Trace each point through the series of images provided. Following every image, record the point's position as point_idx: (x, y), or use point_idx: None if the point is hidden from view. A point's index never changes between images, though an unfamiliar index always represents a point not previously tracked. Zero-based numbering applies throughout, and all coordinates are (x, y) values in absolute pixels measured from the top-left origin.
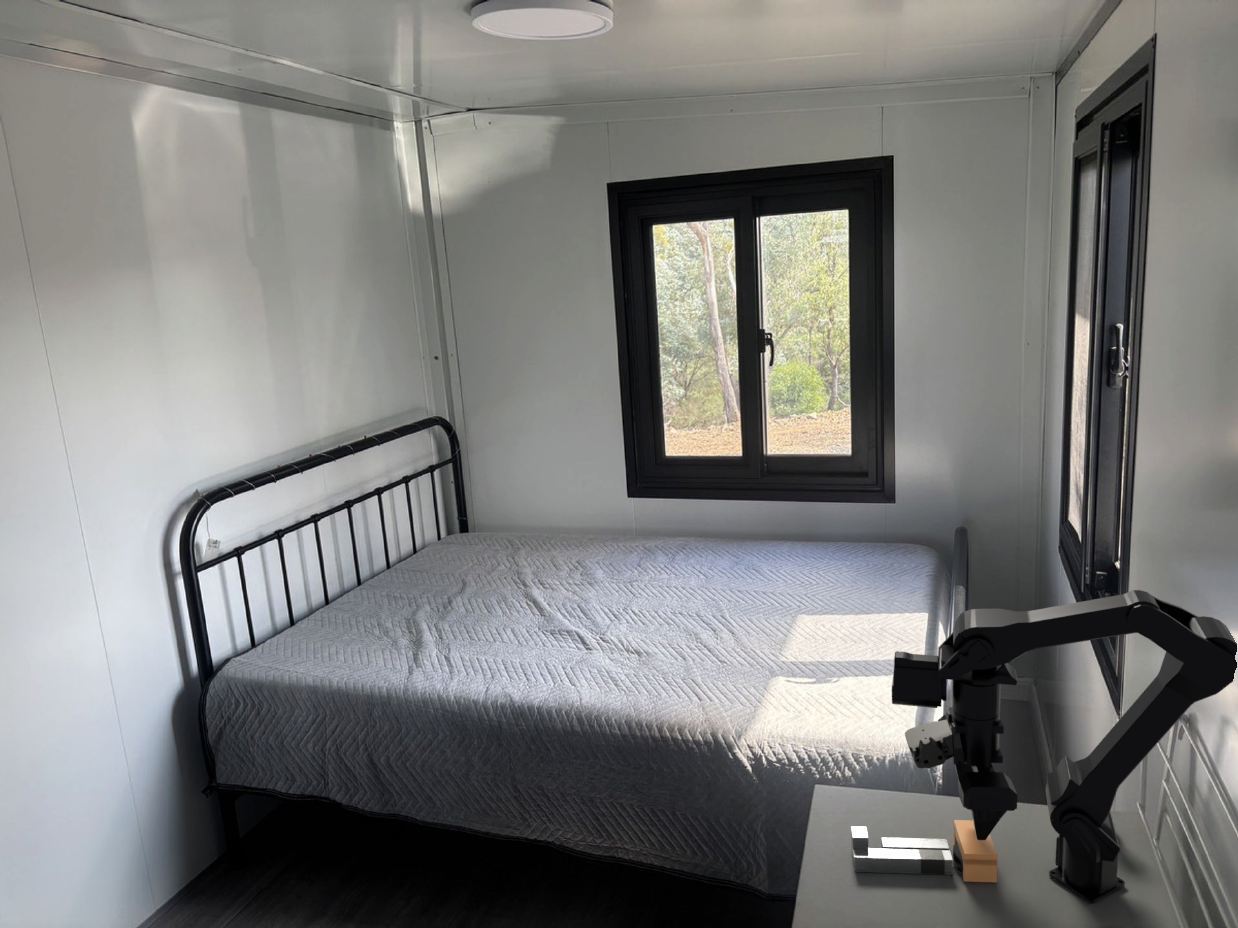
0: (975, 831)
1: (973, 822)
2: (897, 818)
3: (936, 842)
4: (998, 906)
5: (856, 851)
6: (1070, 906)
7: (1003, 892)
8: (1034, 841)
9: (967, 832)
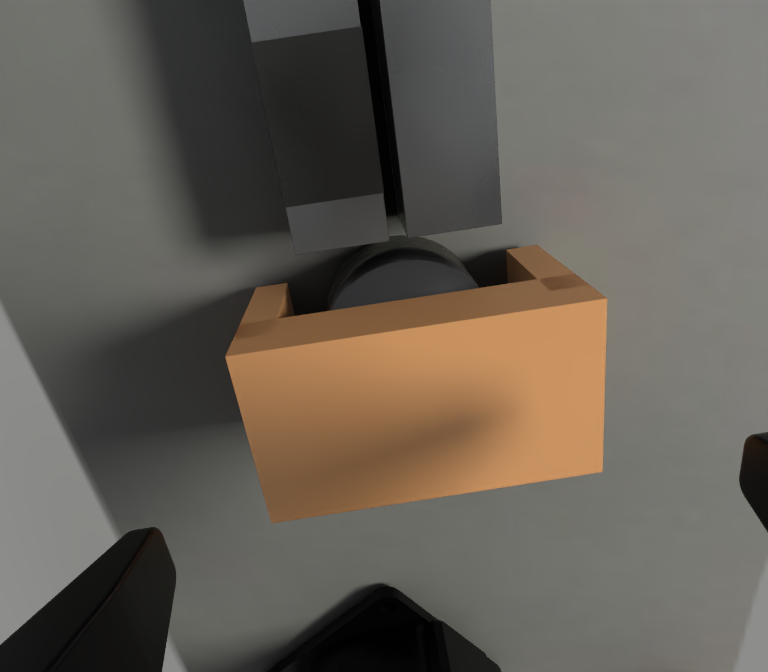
0: (62, 592)
1: (41, 656)
2: None
3: (458, 159)
4: (137, 415)
5: None
6: (228, 627)
7: (241, 437)
8: (599, 549)
9: (466, 378)
